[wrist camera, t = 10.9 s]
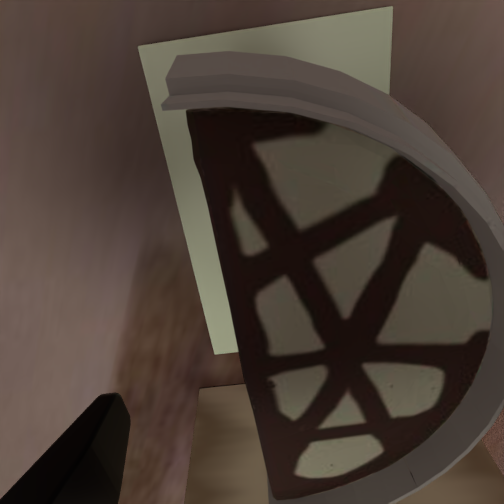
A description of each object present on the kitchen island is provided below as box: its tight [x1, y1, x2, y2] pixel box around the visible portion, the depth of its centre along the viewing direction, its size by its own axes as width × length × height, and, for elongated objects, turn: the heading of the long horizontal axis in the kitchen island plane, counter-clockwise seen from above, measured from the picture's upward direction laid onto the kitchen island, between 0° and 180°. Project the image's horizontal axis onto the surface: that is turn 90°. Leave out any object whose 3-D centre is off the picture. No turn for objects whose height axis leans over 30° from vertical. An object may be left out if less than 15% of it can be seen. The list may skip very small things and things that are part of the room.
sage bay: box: [138, 6, 393, 354], centre depth 17 cm, size 9×15×1 cm, turn 8°
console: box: [184, 384, 504, 504], centre depth 19 cm, size 14×6×10 cm, turn 98°
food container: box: [161, 51, 504, 504], centre depth 12 cm, size 12×6×10 cm, turn 9°
